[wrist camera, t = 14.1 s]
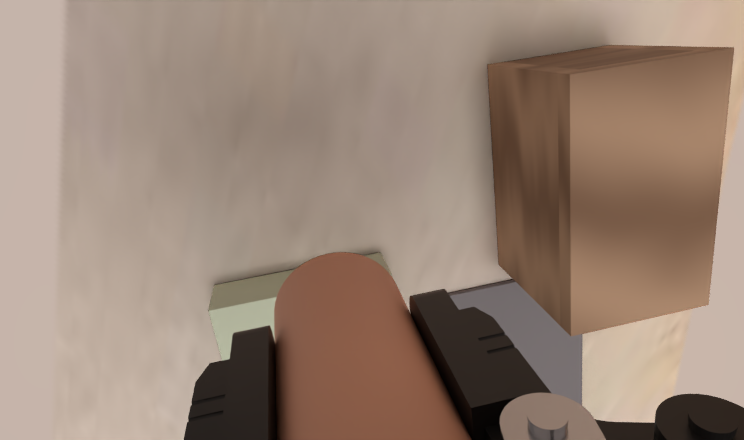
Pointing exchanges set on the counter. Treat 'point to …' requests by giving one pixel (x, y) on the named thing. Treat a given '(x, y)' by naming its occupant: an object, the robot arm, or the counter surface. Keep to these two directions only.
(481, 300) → the grey plate with post
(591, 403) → the counter surface
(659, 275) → the brown box
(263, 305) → the peg board
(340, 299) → the peg
